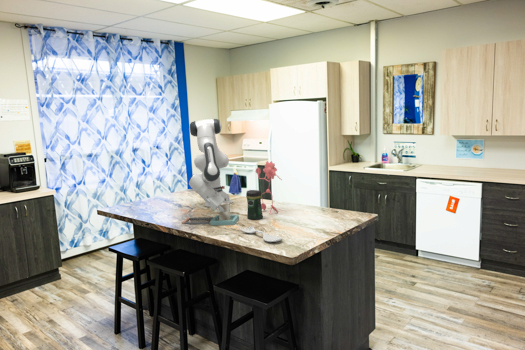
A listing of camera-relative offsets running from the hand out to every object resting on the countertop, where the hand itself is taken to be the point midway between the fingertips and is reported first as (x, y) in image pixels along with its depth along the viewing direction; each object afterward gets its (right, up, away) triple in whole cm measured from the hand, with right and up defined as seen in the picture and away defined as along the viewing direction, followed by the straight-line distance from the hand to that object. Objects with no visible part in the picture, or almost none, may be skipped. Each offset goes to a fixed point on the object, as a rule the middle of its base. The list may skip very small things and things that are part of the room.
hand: (225, 209), depth 259 cm
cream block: (0, -6, +1) cm, 6 cm away
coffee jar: (+19, -6, +7) cm, 21 cm away
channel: (-18, -8, +4) cm, 20 cm away
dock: (0, -8, +1) cm, 8 cm away
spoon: (+23, -12, -35) cm, 43 cm away
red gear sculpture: (+30, -3, +23) cm, 38 cm away
